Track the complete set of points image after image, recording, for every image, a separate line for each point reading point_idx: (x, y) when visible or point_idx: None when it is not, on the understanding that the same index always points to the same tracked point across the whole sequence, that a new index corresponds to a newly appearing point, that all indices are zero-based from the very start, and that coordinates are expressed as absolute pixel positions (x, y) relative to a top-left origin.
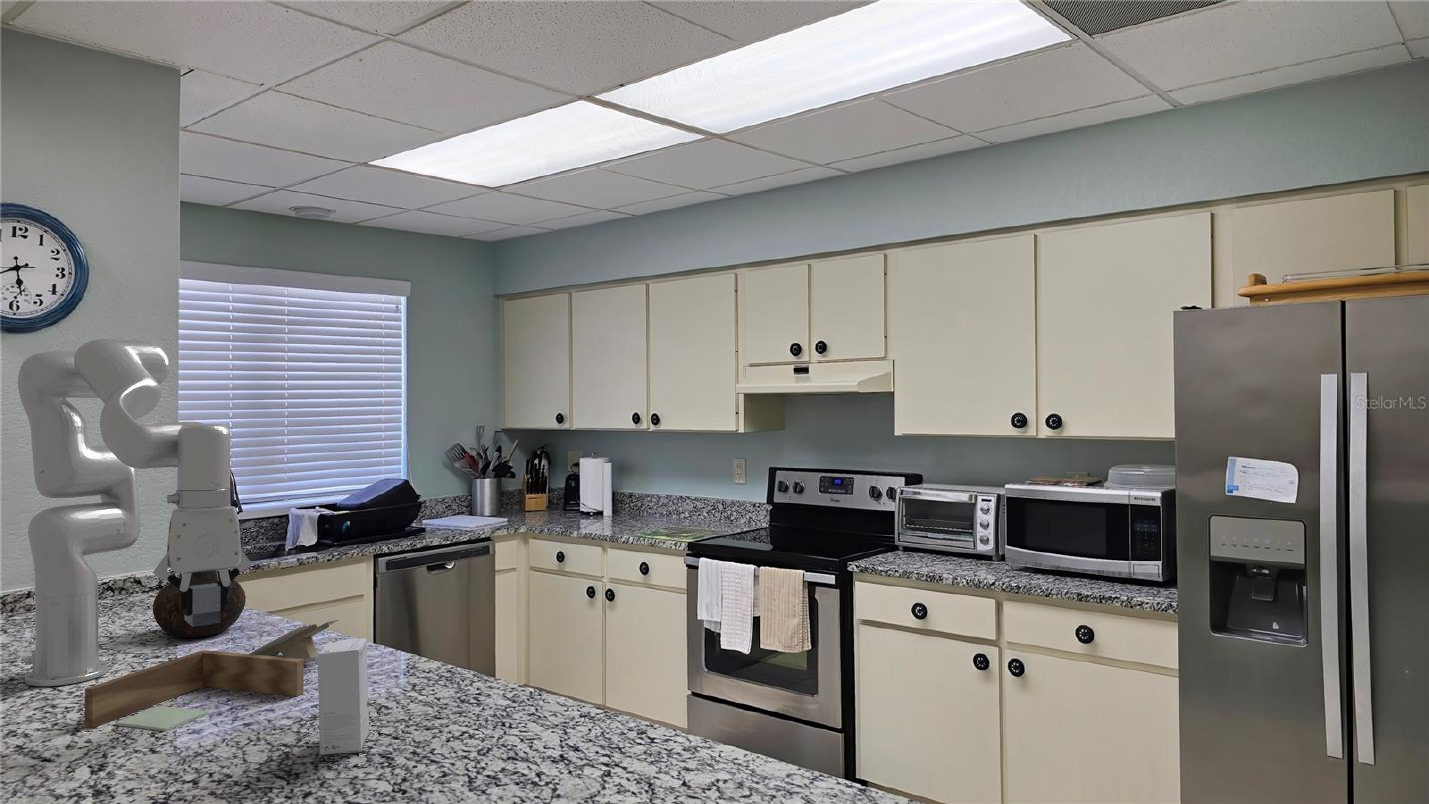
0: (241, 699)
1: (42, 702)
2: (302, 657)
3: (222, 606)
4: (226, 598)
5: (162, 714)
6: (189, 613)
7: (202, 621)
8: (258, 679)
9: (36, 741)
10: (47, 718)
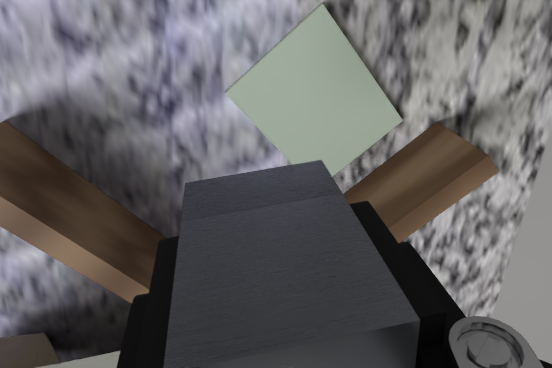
0: (150, 166)
1: (461, 299)
2: (14, 345)
3: (165, 254)
4: (134, 320)
5: (317, 125)
6: (357, 208)
7: (277, 176)
8: (105, 217)
9: (528, 92)
10: (477, 219)
